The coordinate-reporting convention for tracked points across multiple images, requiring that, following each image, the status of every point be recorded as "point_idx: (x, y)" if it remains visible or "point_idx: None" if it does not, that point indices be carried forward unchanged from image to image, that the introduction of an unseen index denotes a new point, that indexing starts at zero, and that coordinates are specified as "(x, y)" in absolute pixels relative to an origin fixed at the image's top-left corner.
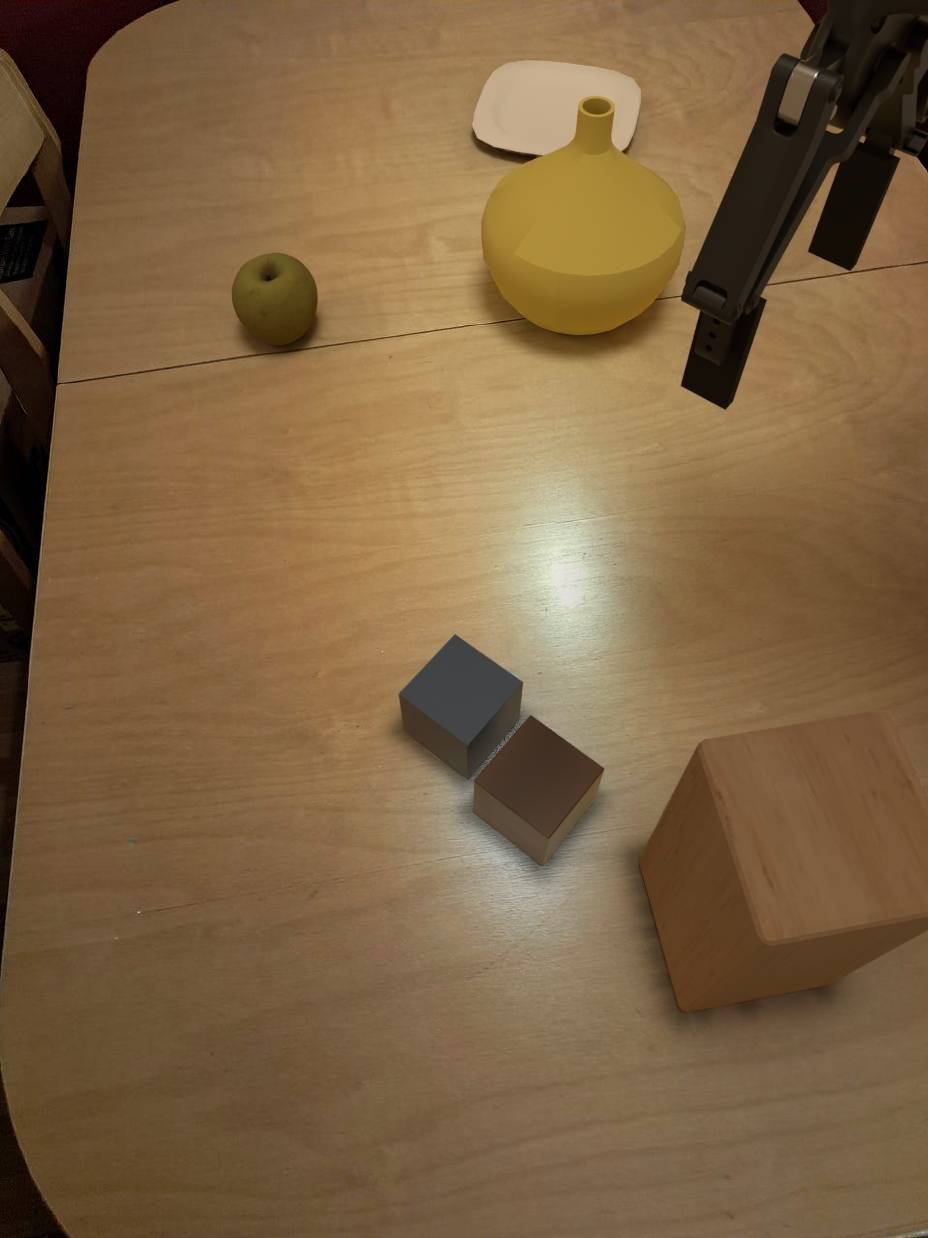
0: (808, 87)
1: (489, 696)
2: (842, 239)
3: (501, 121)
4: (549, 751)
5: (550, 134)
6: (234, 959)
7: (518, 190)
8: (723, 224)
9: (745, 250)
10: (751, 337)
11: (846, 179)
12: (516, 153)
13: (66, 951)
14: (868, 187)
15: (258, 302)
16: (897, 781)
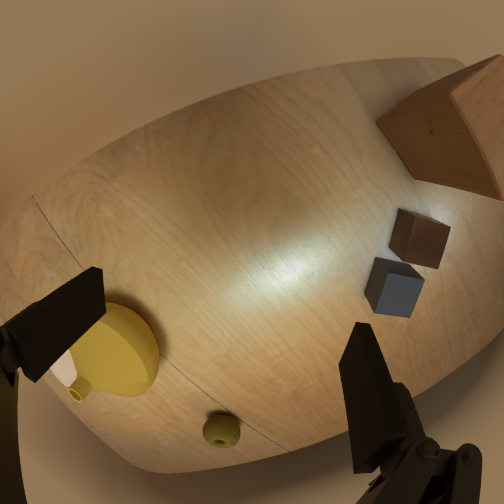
0: None
1: (400, 283)
2: (87, 300)
3: None
4: (416, 244)
5: (72, 362)
6: (478, 300)
7: (120, 393)
8: None
9: None
10: (387, 391)
11: (52, 351)
12: None
13: (479, 340)
14: (44, 329)
15: (234, 439)
16: (483, 87)
